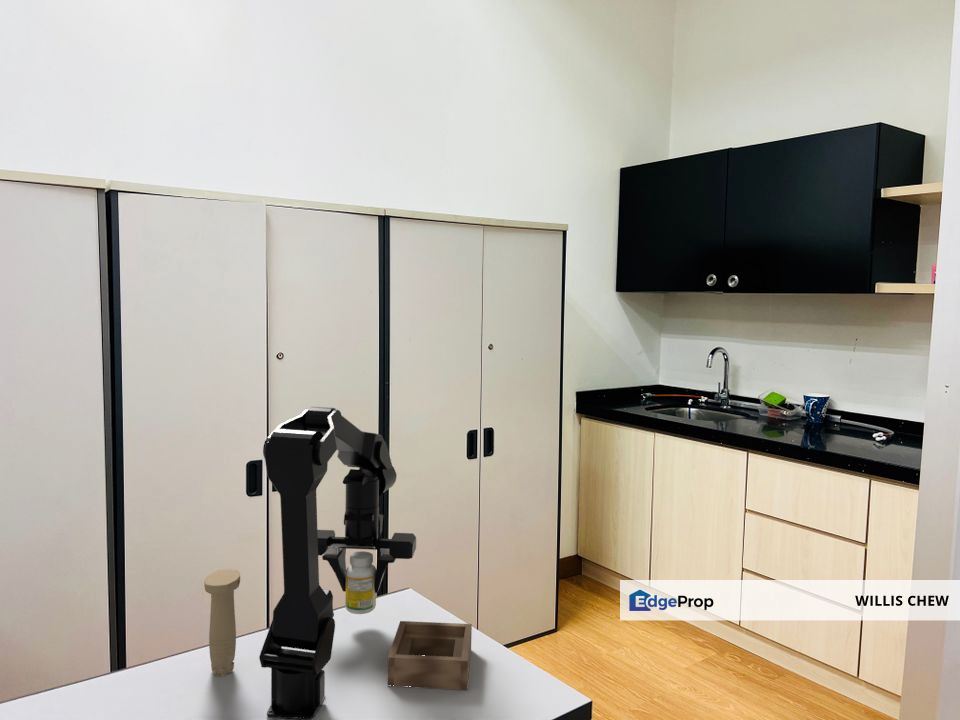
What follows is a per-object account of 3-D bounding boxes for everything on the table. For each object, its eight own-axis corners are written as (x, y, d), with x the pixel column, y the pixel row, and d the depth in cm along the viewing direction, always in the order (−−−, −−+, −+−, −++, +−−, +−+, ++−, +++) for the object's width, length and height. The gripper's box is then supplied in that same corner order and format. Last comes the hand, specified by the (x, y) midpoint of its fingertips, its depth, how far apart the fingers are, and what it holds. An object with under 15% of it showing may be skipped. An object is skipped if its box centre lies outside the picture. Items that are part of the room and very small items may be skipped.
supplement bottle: (366, 617, 117) (367, 562, 117) (339, 611, 119) (339, 558, 118) (381, 604, 122) (382, 552, 122) (355, 599, 124) (355, 548, 123)
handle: (244, 660, 109) (244, 569, 108) (232, 682, 102) (232, 585, 101) (213, 660, 109) (213, 569, 108) (199, 682, 102) (198, 585, 101)
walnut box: (387, 686, 103) (387, 657, 102) (399, 646, 115) (400, 620, 114) (466, 689, 102) (467, 661, 102) (471, 650, 114) (471, 624, 114)
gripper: (420, 494, 127) (419, 575, 128) (321, 490, 128) (320, 571, 129) (412, 511, 116) (410, 601, 117) (304, 507, 117) (303, 596, 118)
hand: (360, 591), depth 120 cm, fingers closed on supplement bottle, 5 cm apart
